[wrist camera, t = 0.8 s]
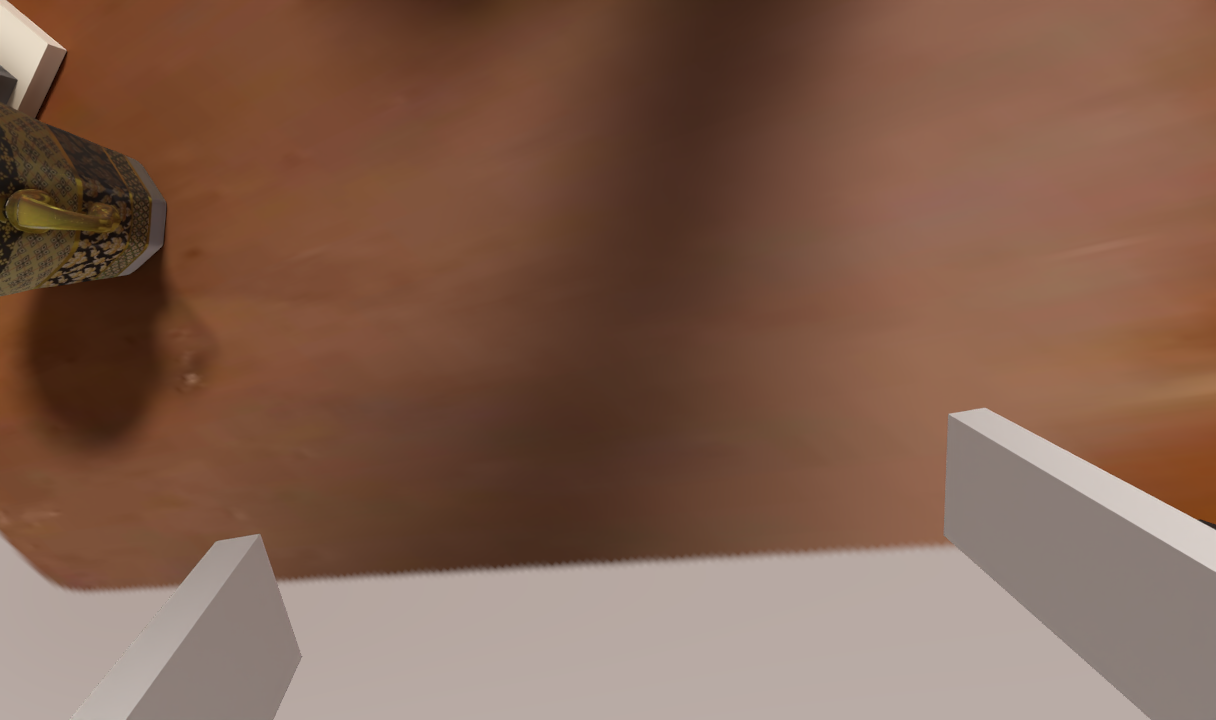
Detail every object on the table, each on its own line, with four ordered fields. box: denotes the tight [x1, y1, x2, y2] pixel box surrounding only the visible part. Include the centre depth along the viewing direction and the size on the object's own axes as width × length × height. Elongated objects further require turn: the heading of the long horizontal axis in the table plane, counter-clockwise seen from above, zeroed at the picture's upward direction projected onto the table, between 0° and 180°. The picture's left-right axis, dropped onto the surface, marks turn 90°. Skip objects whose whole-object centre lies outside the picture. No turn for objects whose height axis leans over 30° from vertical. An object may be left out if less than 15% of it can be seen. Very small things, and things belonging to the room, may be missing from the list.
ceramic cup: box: [0, 102, 166, 296], centre depth 31 cm, size 13×10×10 cm
